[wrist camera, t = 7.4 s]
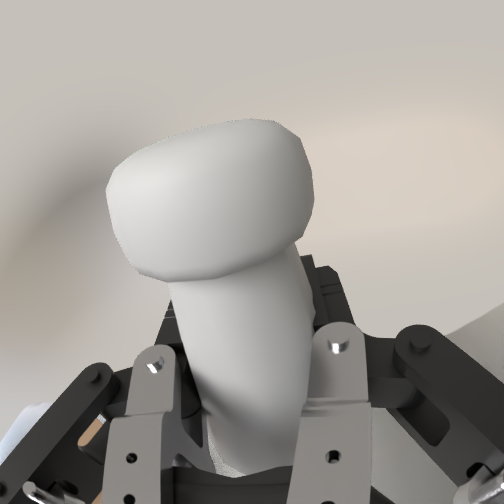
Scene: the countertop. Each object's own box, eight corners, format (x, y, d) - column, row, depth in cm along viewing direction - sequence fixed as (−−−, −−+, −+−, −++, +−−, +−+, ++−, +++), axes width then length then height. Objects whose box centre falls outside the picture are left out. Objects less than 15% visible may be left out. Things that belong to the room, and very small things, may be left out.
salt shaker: (225, 400, 15) (117, 150, 8) (332, 379, 14) (298, 102, 8) (228, 501, 9) (-4, 225, 3) (362, 476, 9) (402, 111, 3)
